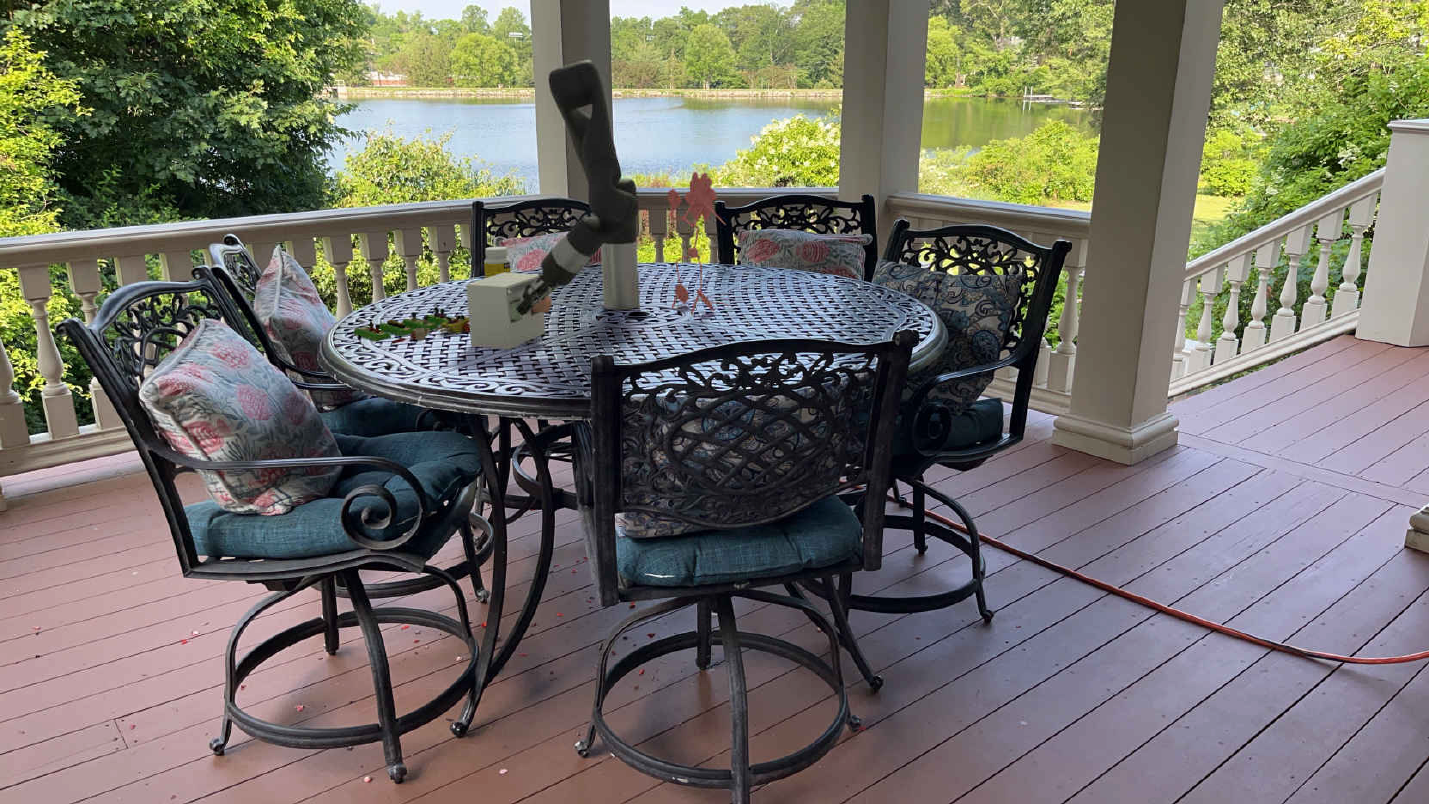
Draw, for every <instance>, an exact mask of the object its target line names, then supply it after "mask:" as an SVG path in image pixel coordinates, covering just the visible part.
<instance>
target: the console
mask: <svg viewBox="0 0 1429 804" xmlns="http://www.w3.org/2000/svg"><path fill="white" fill-rule="evenodd" d="M538 275H539V274H537V273H536V274H535V273H533V274H532V273H519V272H518V273H517V272H511V273H501V274H498V275H495V276H491V277H488V278H482V279H480V280H477V281H473V282H471V283H467V284H465V286H466V297H467V298H466V300H467V310H468V311H467V312H468V317H469V322H468V324H469V325H470V332H469V333H470V334H469V336H470V337H469V338H470V346H471V347H477V348H478V347H479V348H489V347H490V348H491V349H500V348H502V349H503V350H512V349H514V348H516V347H518V346H521V345H523V344H525V343H527V342H529V341H531V339H532V340H534V339H536V338H538V337H540V336H539V335H541V336H543V335H544V333H546V331H545V328H546V327H545V312H533V311H531V310H530V311H529V312H528V313H527V314H525V315H522V317H521V319H520V320H512V319H511V318H510V304H509V302H510V301H512V302H520V303H521V302H522V301H523V300H524V298H523V297H522V296H523V293H524V291H525V288H526V286H527V285H529V284H530V285H532V284H533V283H534V282H535V279H536V277H537V276H538ZM542 334H543V335H542ZM537 336H538V337H537ZM535 337H536V338H535ZM533 338H534V339H533ZM526 341H527V342H526ZM524 342H525V343H524Z"/></svg>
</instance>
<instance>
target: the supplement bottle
mask: <svg viewBox="0 0 1429 804" xmlns="http://www.w3.org/2000/svg"><path fill="white" fill-rule="evenodd" d="M484 251H485V257H486V258H485V259H484V262H483V265H484V267H483V268H484V275H485V276H484V277H485V278H488V277H491V276H495V275H498V274H501V273H512V269H511V268H512V267H511V259H510V258H509V257H508V254H509V251H508V247H506V246H490V247H486V248H485V249H484ZM485 278H484V279H485Z"/></svg>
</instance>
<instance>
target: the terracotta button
mask: <svg viewBox="0 0 1429 804" xmlns="http://www.w3.org/2000/svg"><path fill="white" fill-rule="evenodd" d="M551 309H552V299H551V296H550V294H549V295H548V296H547V297H546V298H545V299H544V300H540V301H539V303H537V304H535V305H534V306H533V307H532V308H531V311H533V312H544V313H549V312H550V311H551Z"/></svg>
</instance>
